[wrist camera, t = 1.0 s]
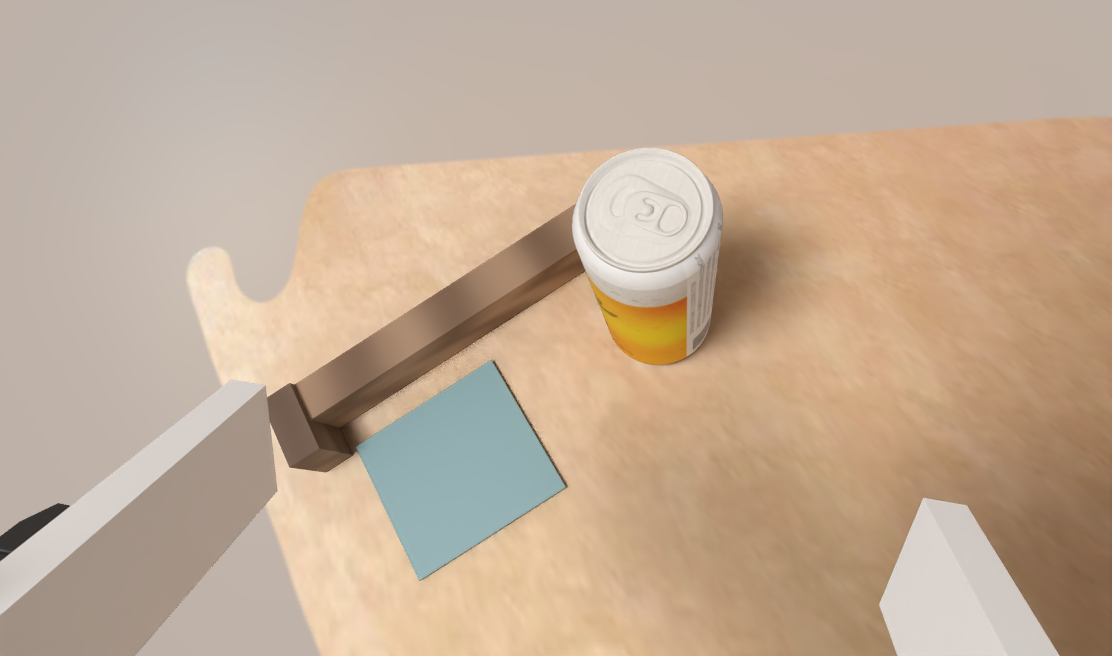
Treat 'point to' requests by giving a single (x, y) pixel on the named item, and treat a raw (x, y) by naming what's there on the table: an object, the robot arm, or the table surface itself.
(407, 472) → the pad
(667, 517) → the table surface
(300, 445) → the brown l-shaped hook tool
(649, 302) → the orange soda can
